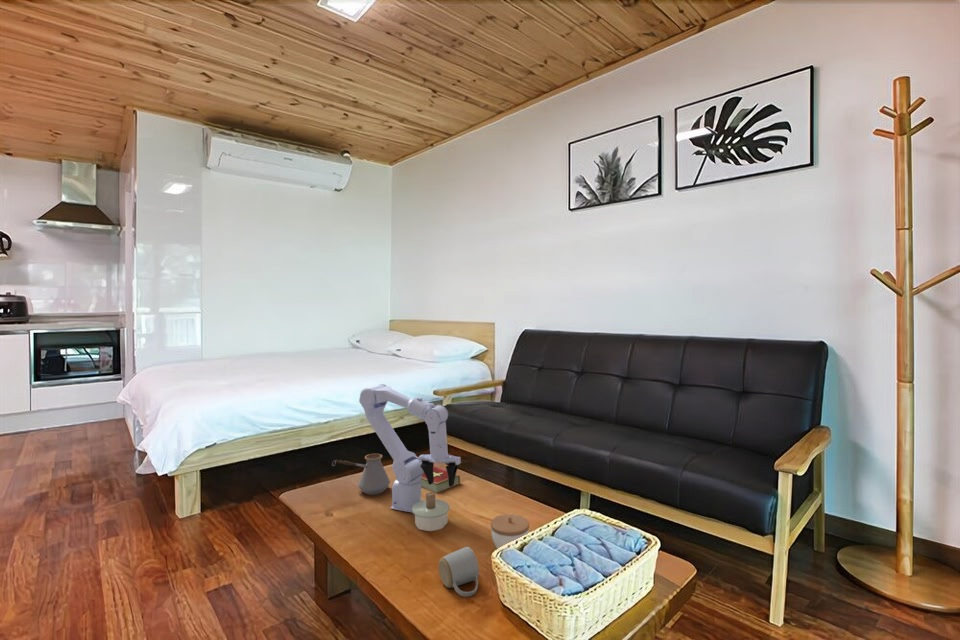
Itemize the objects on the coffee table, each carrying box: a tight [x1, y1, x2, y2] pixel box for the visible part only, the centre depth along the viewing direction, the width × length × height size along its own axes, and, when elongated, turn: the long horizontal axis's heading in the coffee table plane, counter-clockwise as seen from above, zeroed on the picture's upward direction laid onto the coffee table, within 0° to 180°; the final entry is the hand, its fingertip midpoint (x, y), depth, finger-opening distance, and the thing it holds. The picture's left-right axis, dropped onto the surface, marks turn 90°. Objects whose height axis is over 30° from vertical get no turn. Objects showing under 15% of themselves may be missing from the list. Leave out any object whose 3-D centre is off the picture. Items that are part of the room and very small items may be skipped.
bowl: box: [414, 512, 448, 532], centre depth 147 cm, size 9×9×4 cm
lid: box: [411, 491, 450, 518], centre depth 146 cm, size 12×12×5 cm
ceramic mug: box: [438, 546, 480, 598], centre depth 114 cm, size 11×8×8 cm
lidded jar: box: [490, 513, 530, 549], centre depth 131 cm, size 11×11×9 cm
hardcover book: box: [421, 466, 461, 494], centre depth 181 cm, size 12×21×4 cm, turn 48°
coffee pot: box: [331, 453, 391, 496], centre depth 169 cm, size 21×12×15 cm, turn 130°
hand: (441, 484), depth 153 cm, fingers open, 7 cm apart
